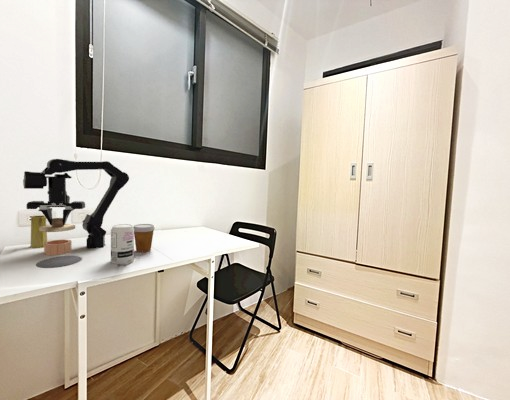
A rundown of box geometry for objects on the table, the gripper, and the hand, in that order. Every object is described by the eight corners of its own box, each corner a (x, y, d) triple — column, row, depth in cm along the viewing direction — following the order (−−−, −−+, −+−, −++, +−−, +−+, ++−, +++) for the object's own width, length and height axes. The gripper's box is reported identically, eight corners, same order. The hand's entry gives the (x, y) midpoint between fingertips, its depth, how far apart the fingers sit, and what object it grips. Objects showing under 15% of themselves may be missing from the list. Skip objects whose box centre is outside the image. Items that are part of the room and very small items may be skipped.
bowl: (74, 249, 111) (73, 239, 111) (67, 255, 103) (66, 244, 102) (49, 250, 108) (49, 239, 107) (40, 257, 99) (40, 245, 99)
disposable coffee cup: (158, 249, 117) (159, 225, 116) (142, 254, 109) (142, 228, 108) (144, 246, 121) (145, 222, 120) (127, 251, 113) (127, 225, 112)
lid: (78, 225, 112) (78, 216, 111) (70, 231, 101) (70, 220, 100) (46, 226, 107) (45, 216, 107) (33, 232, 96) (33, 221, 96)
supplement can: (116, 258, 102) (116, 223, 101) (136, 259, 103) (137, 224, 102) (106, 265, 94) (106, 227, 93) (128, 265, 95) (128, 228, 94)
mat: (86, 256, 103) (86, 254, 103) (75, 267, 90) (75, 266, 90) (45, 258, 98) (45, 256, 98) (28, 271, 85) (28, 269, 85)
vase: (37, 249, 109) (36, 217, 108) (26, 247, 110) (25, 216, 109) (51, 245, 115) (50, 216, 114) (40, 244, 116) (40, 214, 115)
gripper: (88, 188, 113) (88, 221, 115) (37, 187, 106) (38, 222, 107) (81, 189, 103) (82, 225, 105) (25, 188, 96) (26, 227, 97)
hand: (57, 225), depth 104 cm, fingers closed on lid, 4 cm apart
